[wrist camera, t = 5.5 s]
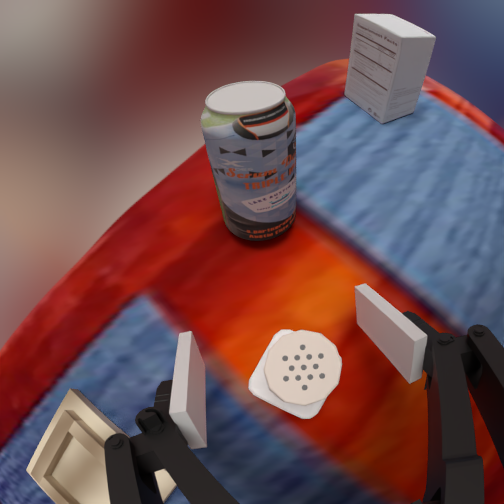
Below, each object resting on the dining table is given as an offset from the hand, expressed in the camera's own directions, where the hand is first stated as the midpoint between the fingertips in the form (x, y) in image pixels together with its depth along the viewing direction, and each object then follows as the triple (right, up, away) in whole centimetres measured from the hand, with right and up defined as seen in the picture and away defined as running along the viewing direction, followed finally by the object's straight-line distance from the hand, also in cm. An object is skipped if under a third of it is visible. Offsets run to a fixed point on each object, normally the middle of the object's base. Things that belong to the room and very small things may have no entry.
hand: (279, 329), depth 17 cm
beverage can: (-1, +8, +9) cm, 12 cm away
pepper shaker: (+1, -4, +2) cm, 5 cm away
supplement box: (+15, +24, +17) cm, 33 cm away
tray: (-14, -13, -2) cm, 19 cm away
